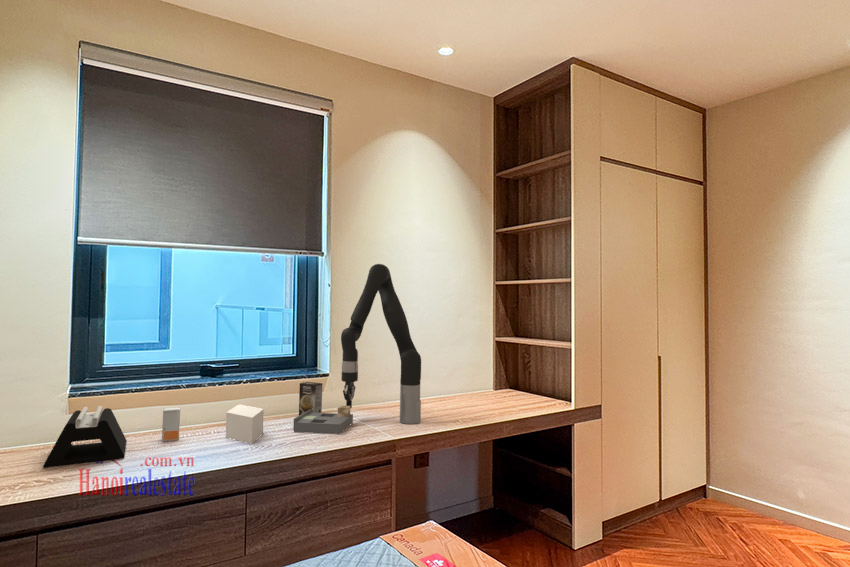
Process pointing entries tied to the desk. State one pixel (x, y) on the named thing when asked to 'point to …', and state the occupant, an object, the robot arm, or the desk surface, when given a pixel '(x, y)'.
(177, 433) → the skincare box
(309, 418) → the plate
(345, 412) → the block
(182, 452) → the desk surface
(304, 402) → the coffee box
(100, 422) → the device stand
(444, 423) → the desk surface
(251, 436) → the beige rectangular block
